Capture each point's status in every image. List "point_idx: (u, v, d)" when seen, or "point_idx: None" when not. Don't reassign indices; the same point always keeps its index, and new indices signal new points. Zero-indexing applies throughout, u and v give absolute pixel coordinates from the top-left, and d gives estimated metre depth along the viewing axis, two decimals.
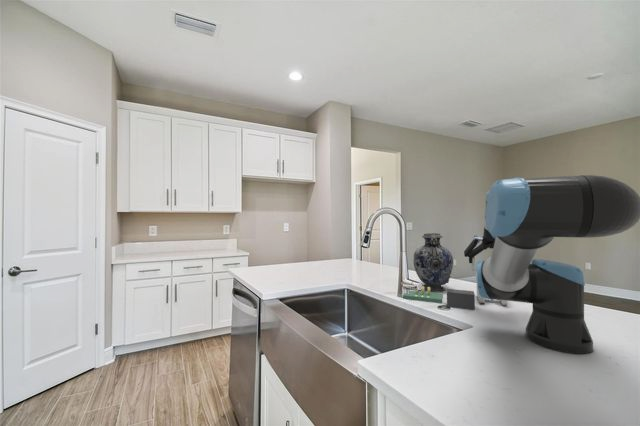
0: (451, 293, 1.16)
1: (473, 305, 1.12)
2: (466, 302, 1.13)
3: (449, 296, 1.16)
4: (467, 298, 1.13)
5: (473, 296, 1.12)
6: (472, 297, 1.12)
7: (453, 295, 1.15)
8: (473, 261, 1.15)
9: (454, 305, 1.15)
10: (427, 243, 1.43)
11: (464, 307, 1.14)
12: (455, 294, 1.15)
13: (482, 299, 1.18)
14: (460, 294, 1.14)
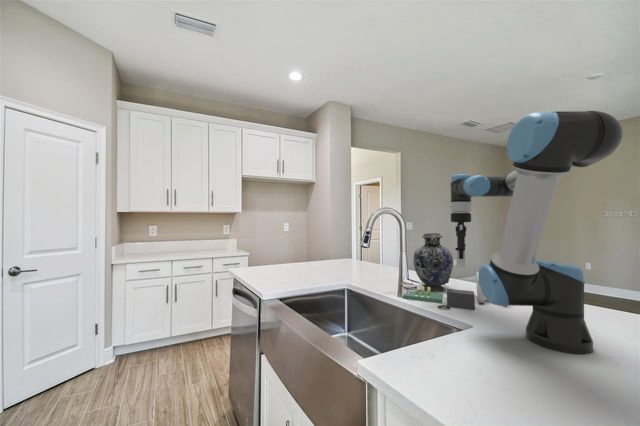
0: (451, 293, 1.16)
1: (473, 305, 1.12)
2: (466, 302, 1.13)
3: (449, 296, 1.16)
4: (467, 298, 1.13)
5: (473, 296, 1.12)
6: (472, 297, 1.12)
7: (453, 295, 1.15)
8: (464, 254, 1.10)
9: (454, 305, 1.15)
10: (427, 243, 1.43)
11: (464, 307, 1.14)
12: (455, 294, 1.15)
13: (482, 299, 1.18)
14: (460, 294, 1.14)
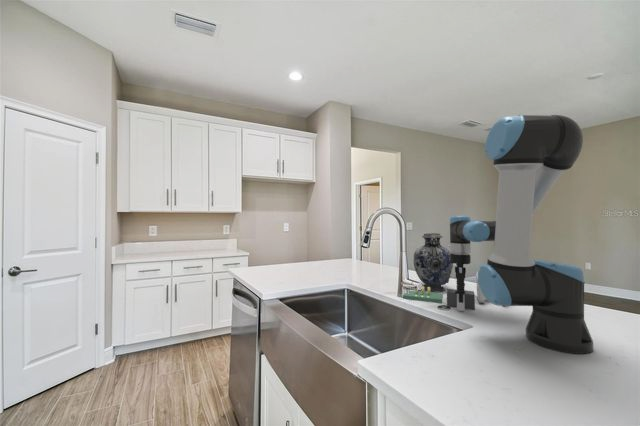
0: (451, 293, 1.16)
1: (473, 305, 1.12)
2: (466, 302, 1.13)
3: (449, 296, 1.16)
4: (467, 298, 1.13)
5: (473, 296, 1.12)
6: (472, 297, 1.12)
7: (453, 295, 1.15)
8: (464, 297, 1.10)
9: (454, 305, 1.15)
10: (427, 243, 1.43)
11: None
12: (455, 294, 1.15)
13: (482, 299, 1.18)
14: None
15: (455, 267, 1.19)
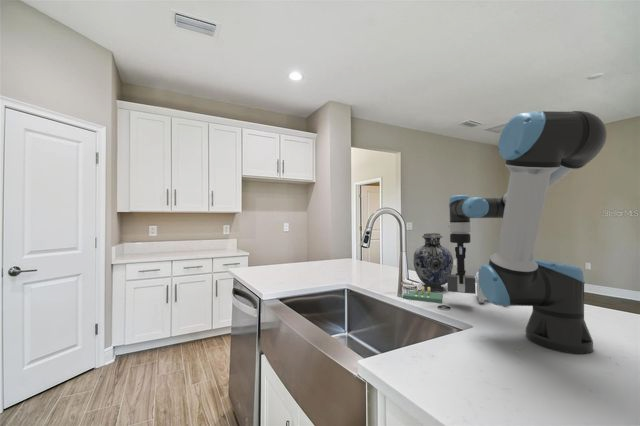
0: (451, 277, 1.15)
1: (474, 289, 1.12)
2: (467, 286, 1.13)
3: (449, 280, 1.15)
4: (468, 282, 1.13)
5: (474, 279, 1.12)
6: (473, 281, 1.12)
7: (453, 279, 1.15)
8: (464, 279, 1.13)
9: (455, 289, 1.14)
10: (427, 243, 1.43)
11: None
12: (455, 278, 1.14)
13: (482, 299, 1.18)
14: None
15: (455, 247, 1.19)
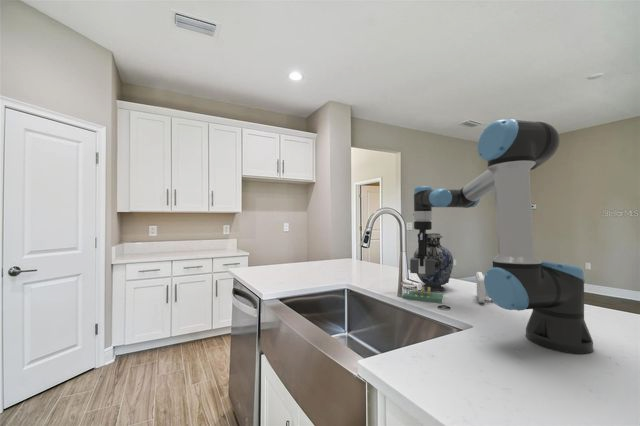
0: (414, 260, 1.28)
1: (433, 270, 1.24)
2: (427, 268, 1.25)
3: (412, 263, 1.28)
4: (427, 264, 1.25)
5: (433, 262, 1.24)
6: (432, 263, 1.24)
7: (415, 262, 1.27)
8: None
9: (416, 271, 1.27)
10: (427, 243, 1.43)
11: (425, 272, 1.26)
12: (417, 261, 1.27)
13: (482, 299, 1.18)
14: None
15: (418, 233, 1.31)
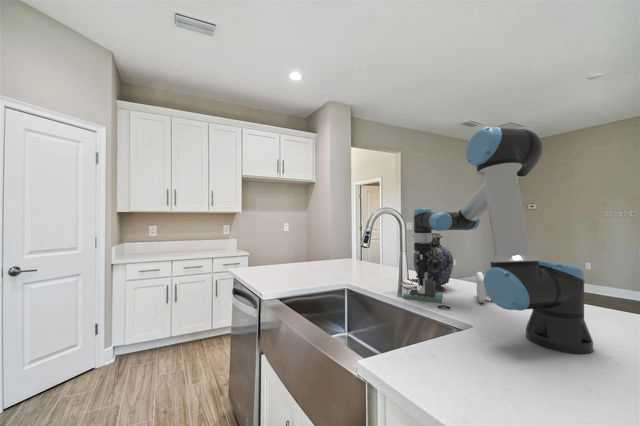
0: None
1: (433, 293, 1.24)
2: (427, 290, 1.25)
3: None
4: (428, 286, 1.25)
5: (433, 284, 1.24)
6: (432, 285, 1.24)
7: None
8: (424, 281, 1.22)
9: (417, 293, 1.27)
10: None
11: (425, 294, 1.25)
12: None
13: (482, 299, 1.18)
14: None
15: None
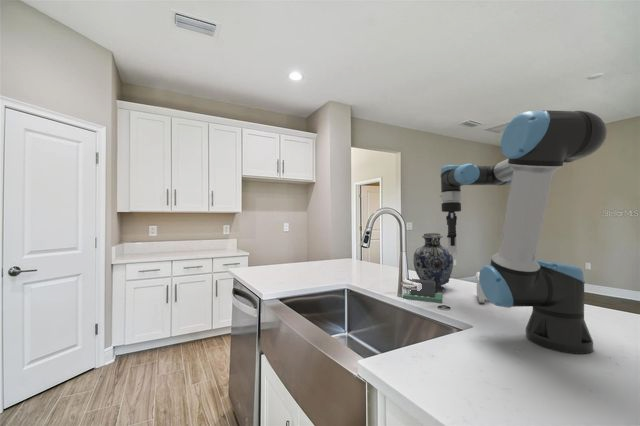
0: None
1: (433, 293, 1.24)
2: (427, 290, 1.25)
3: None
4: (428, 286, 1.25)
5: (433, 284, 1.24)
6: (432, 285, 1.24)
7: None
8: None
9: (417, 293, 1.27)
10: (427, 243, 1.43)
11: (425, 294, 1.25)
12: None
13: (482, 299, 1.18)
14: (422, 283, 1.26)
15: None
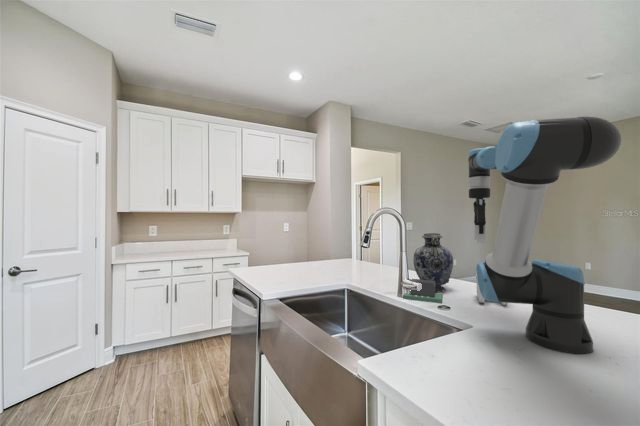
0: None
1: (433, 293, 1.24)
2: (427, 290, 1.25)
3: None
4: (428, 286, 1.25)
5: (433, 284, 1.24)
6: (432, 285, 1.24)
7: None
8: None
9: (417, 293, 1.27)
10: (427, 243, 1.43)
11: (425, 294, 1.25)
12: None
13: (482, 299, 1.18)
14: (422, 283, 1.26)
15: None
